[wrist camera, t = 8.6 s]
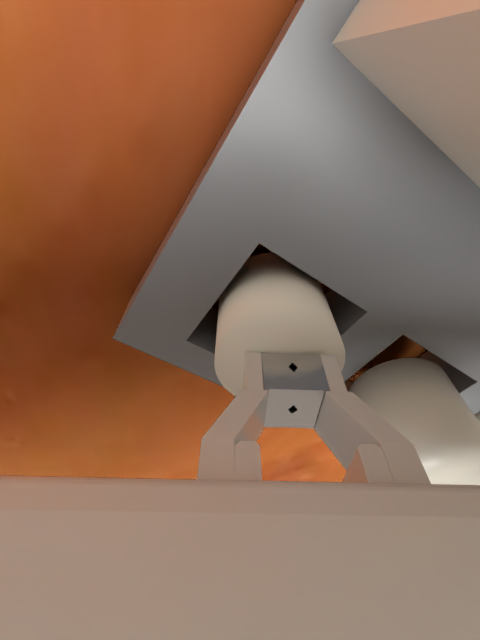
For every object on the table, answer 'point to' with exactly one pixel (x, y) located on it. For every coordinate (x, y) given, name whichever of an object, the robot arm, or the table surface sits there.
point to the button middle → (426, 416)
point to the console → (341, 189)
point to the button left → (272, 317)
